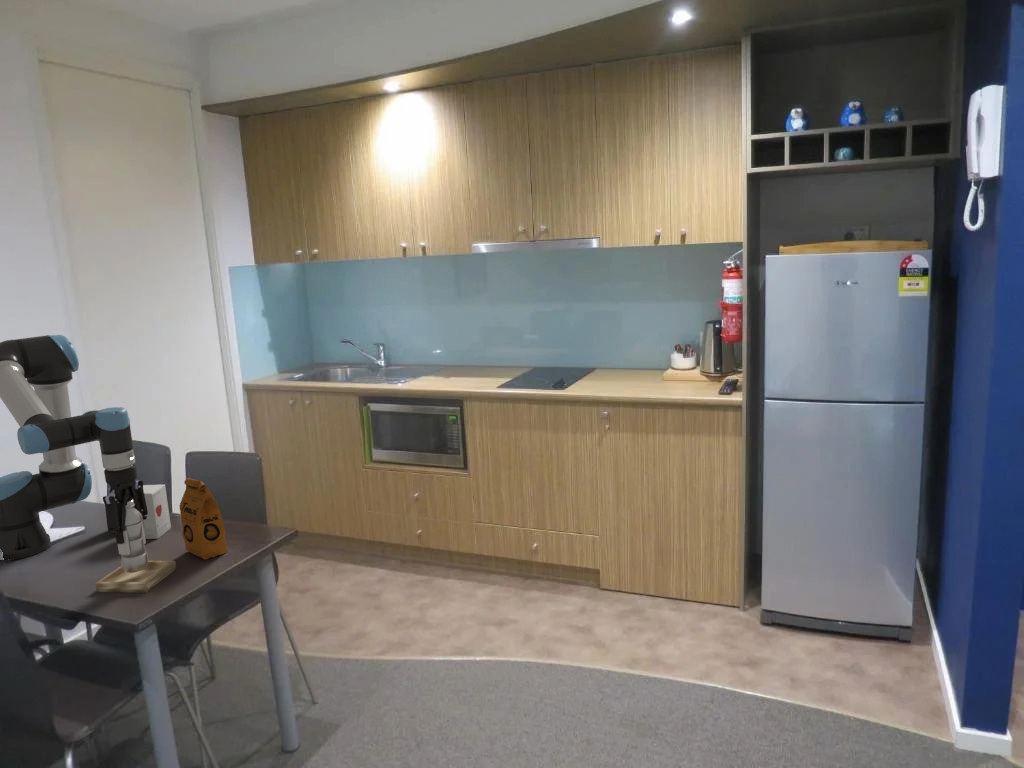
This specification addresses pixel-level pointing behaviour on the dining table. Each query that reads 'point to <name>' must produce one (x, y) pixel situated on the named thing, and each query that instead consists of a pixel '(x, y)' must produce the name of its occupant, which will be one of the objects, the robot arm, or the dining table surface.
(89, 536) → the dining table surface
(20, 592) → the dining table surface
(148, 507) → the supplement box
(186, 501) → the coffee package
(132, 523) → the plastic bottle
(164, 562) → the bamboo tray
